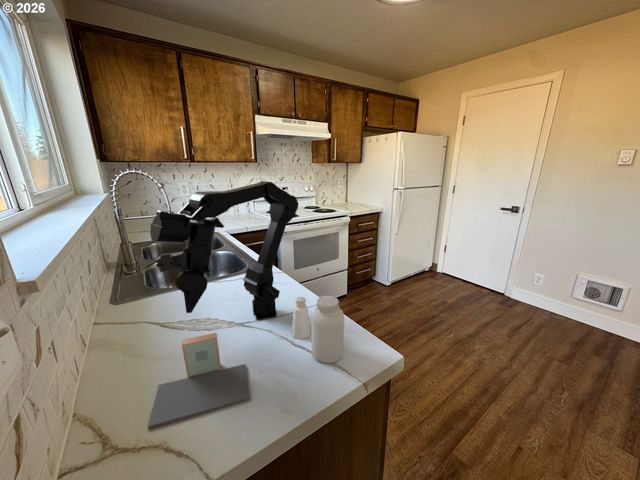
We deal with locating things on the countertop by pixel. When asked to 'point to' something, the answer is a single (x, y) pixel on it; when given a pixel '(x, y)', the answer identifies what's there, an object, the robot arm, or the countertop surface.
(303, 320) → the pepper shaker
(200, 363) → the tile
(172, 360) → the countertop surface
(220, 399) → the mat
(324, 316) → the pill bottle
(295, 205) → the robot arm
